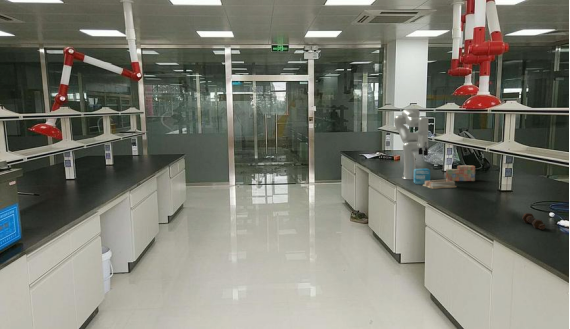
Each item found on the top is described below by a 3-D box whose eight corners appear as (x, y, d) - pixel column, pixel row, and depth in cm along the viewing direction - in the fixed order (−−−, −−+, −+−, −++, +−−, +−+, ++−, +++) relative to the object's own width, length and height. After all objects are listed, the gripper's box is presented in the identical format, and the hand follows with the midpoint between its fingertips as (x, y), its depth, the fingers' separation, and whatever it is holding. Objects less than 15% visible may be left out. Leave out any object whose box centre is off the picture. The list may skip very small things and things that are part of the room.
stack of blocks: (447, 181, 337) (448, 166, 336) (445, 179, 344) (446, 165, 342) (474, 181, 335) (475, 166, 333) (472, 179, 341) (472, 165, 340)
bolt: (540, 234, 201) (525, 224, 215) (550, 229, 200) (534, 220, 215) (534, 224, 200) (520, 215, 215) (544, 219, 199) (529, 210, 214)
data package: (415, 184, 327) (415, 169, 325) (413, 183, 331) (413, 168, 330) (430, 184, 326) (430, 169, 325) (428, 183, 331) (428, 168, 329)
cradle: (422, 185, 321) (422, 180, 321) (445, 184, 325) (446, 179, 324) (432, 188, 308) (432, 183, 307) (456, 187, 311) (456, 182, 311)
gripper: (414, 133, 332) (414, 154, 334) (423, 133, 315) (423, 156, 316) (423, 132, 332) (423, 153, 334) (432, 133, 315) (432, 155, 317)
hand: (423, 154), depth 325 cm, fingers open, 9 cm apart
